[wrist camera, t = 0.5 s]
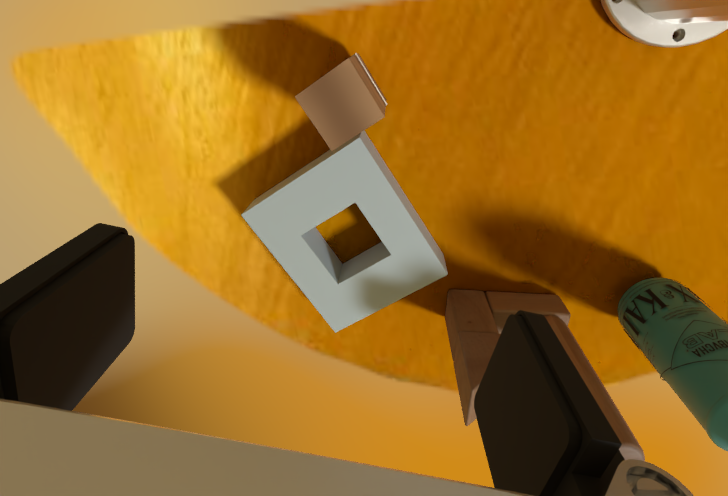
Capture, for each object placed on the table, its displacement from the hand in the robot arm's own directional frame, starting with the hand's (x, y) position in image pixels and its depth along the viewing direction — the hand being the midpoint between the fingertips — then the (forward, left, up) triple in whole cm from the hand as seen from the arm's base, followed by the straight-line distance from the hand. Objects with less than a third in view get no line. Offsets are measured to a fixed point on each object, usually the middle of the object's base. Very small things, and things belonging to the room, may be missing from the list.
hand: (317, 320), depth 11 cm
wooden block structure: (-1, +22, -29) cm, 37 cm away
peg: (0, -3, -29) cm, 29 cm away
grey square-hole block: (+7, +7, -29) cm, 31 cm away
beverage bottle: (-13, +28, -29) cm, 43 cm away
